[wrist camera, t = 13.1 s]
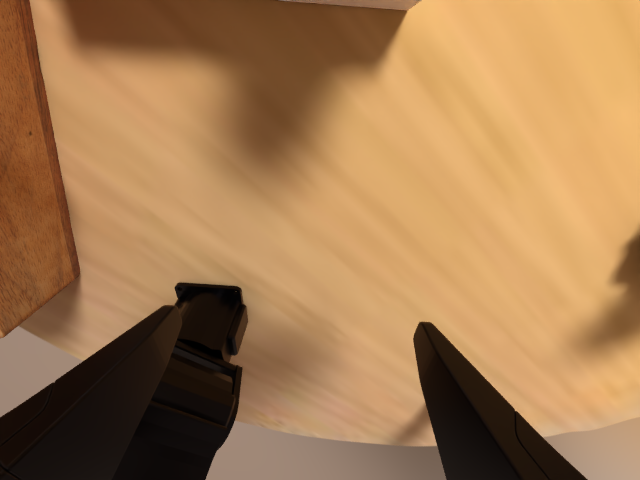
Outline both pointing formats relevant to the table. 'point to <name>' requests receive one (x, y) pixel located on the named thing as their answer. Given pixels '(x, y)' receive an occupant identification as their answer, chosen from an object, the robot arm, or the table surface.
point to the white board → (367, 3)
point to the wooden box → (28, 179)
